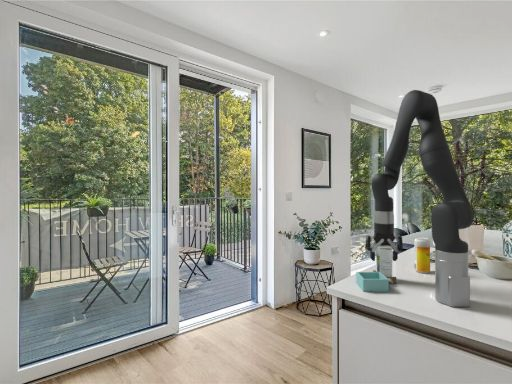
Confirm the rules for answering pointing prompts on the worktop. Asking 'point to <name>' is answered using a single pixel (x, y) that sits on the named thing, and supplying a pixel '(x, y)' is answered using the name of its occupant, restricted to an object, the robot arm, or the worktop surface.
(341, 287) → the worktop surface
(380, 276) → the teal square tray
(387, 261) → the syrup box
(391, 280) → the mount rails
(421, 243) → the glass of beer
